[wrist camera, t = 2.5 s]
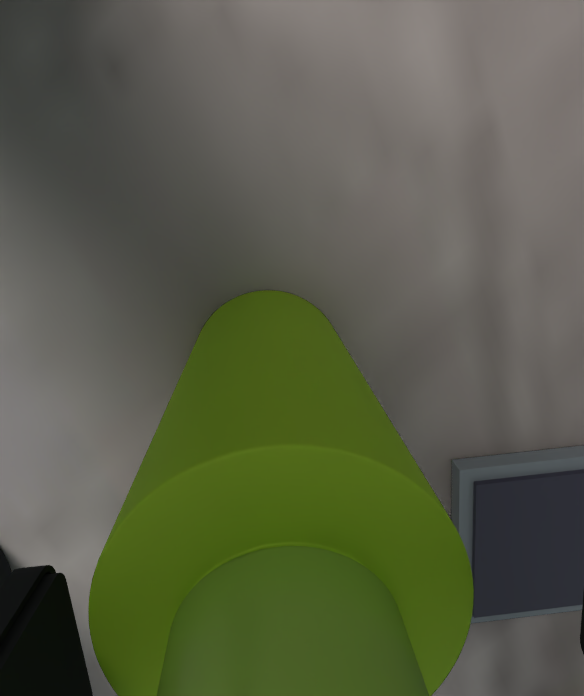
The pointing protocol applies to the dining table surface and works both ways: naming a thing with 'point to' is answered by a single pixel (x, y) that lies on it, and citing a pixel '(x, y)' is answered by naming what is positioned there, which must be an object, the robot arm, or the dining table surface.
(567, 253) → the dining table surface
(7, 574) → the travel mug
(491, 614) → the ink pad
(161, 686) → the soap dispenser
